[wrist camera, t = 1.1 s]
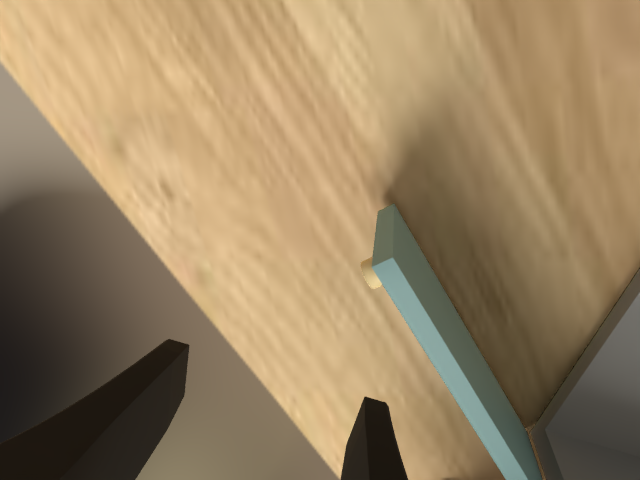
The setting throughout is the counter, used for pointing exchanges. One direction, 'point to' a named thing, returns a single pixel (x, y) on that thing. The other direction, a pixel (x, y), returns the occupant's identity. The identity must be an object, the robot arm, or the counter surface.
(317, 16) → the counter surface
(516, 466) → the door
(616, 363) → the grey open box
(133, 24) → the counter surface
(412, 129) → the counter surface
